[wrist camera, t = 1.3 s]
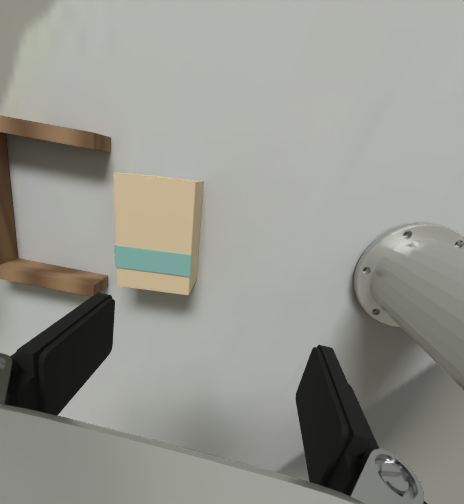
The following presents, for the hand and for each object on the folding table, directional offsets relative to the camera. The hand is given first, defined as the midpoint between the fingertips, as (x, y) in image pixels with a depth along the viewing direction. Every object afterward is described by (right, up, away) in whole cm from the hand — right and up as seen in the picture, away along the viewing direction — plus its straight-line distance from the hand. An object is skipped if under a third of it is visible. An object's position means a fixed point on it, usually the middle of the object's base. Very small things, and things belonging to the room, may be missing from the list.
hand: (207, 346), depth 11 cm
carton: (-7, +7, +18) cm, 20 cm away
